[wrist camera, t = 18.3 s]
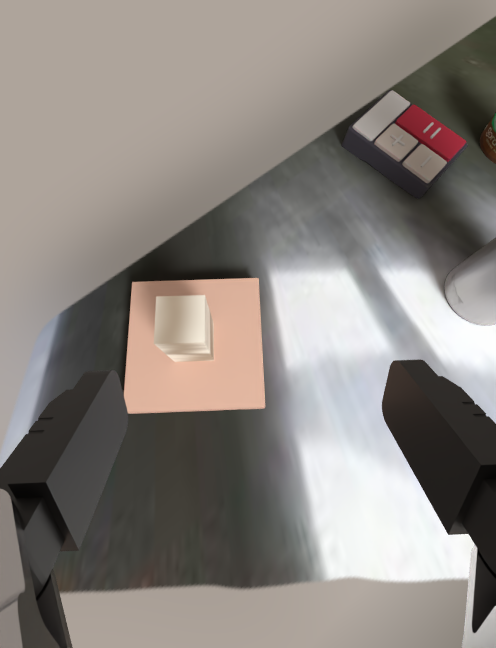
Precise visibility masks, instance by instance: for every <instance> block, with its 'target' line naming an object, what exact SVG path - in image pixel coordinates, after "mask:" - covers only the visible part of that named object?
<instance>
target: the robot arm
mask: <svg viewBox="0 0 496 648" xmlns="http://www.w3.org/2000/svg"><path fill="white" fill-rule="evenodd" d="M445 295H446V298H447V300H448V302H449V304H450V306H451V307H452V309H453V310H454V311H455V312H456V313H457V314H458V315H459V316H461V317H462V318H463V319H465V320H467V321H469V322H471V323H474V324H477V325H484V326H485V325H494V324H496V238H494V239H493V240H492V241H490V242H489V243H488V244H486V245H485V246H483V247H482V248H481V249H479V250H478V251H477V252H475V253H474V254H473V255H471V256H470V257H468V258H467V259H466V260H464V261H463V262H462V263H460V264H459V265H458V266H456V267H455V268H454V269H453V270H451V272H450V273H449V274H448V276H447V278H446V281H445ZM382 412H383V416H384V420H385V422H386V424H387V426H388V428H389V429H390V431H391V433H392V435H393V437H394V438H395V440H396V442H397V444H398V445H399V447H400V449H401V451H402V453H403V454H404V456H405V458H406V460H407V462H408V463H409V465H410V467H411V469H412V471H413V472H414V474H415V476H416V478H417V479H418V481H419V483H420V485H421V487H422V488H423V490H424V492H425V494H426V496H427V497H428V499H429V501H430V503H431V505H432V506H433V508H434V510H435V512H436V513H437V515H438V517H439V519H440V521H441V522H442V524H443V526H444V528H445V530H446V531H447V533H448V535H453V534H469V535H470V537H471V539H472V540H473V542H474V544H475V545H474V547H473V549H472V552H471V560H470V571H469V582H468V594H467V606H466V617H465V628H464V637H463V642H462V647H461V648H496V424H495V422H494V421H493V420H492V419H491V418H490V417H486V413H485V412H484V411H483V410H482V409H481V408H480V407H479V406H478V405H477V404H476V405H475V404H474V401H473V400H472V399H471V398H470V397H469V396H468V395H467V393H466V392H465V391H464V390H463V389H462V388H461V387H459V386H457V385H456V384H454V383H453V382H451V381H449V380H448V379H446V378H444V377H443V376H438V375H437V374H436V373H435V372H434V371H433V370H432V369H431V368H430V367H429V366H428V364H427V363H426V362H425V361H423V360H397V361H393V362H392V364H391V366H390V369H389V374H388V378H387V383H386V387H385V391H384V396H383V401H382ZM127 426H128V411H127V407H126V403H125V399H124V395H123V391H122V388H121V384H120V380H119V376H118V374H117V372H116V371H114V370H108V371H87V372H85V373H84V374H83V376H82V377H81V379H80V380H79V381H78V383H77V384H76V386H75V387H74V389H73V390H66V391H65V392H63V393H62V394H61V395H59V396H58V397H57V398H55V399H54V400H53V401H51V402H50V403H49V404H48V406H47V407H46V408H45V410H44V411H43V412H42V414H41V415H40V416H39V418H38V421H36V422H35V423H34V424H33V426H32V427H31V428H30V430H29V433H28V434H26V435H25V436H24V438H23V439H22V440H21V442H20V443H19V444H18V446H17V447H16V448H15V450H14V451H13V452H12V454H11V455H10V456H9V458H8V459H7V460H6V462H5V463H4V464H3V466H2V467H1V468H0V648H72V644H71V640H70V635H69V631H68V627H67V623H66V619H65V615H64V610H63V606H62V602H61V598H60V594H59V590H58V585H57V581H56V577H55V573H54V571H53V569H52V568H53V566H54V564H55V561H56V559H57V557H58V555H59V552H60V551H79V549H80V547H81V544H82V542H83V539H84V537H85V534H86V532H87V529H88V527H89V524H90V522H91V519H92V517H93V514H94V512H95V509H96V507H97V504H98V502H99V499H100V496H101V494H102V491H103V489H104V486H105V484H106V481H107V479H108V476H109V474H110V471H111V469H112V466H113V464H114V461H115V459H116V456H117V454H118V451H119V449H120V446H121V444H122V441H123V438H124V436H125V433H126V430H127Z"/></svg>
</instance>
